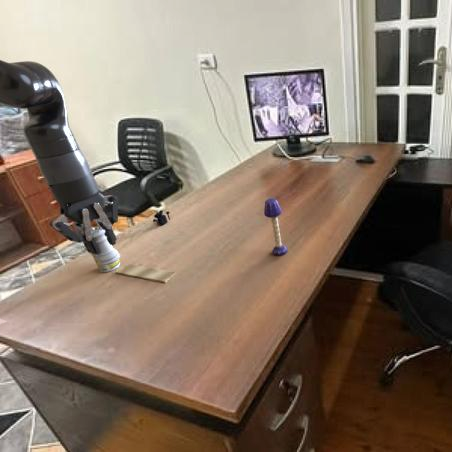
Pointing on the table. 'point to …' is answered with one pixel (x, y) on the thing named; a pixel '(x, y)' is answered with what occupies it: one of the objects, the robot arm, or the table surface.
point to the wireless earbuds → (161, 218)
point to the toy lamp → (275, 224)
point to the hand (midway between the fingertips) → (104, 248)
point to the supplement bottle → (106, 267)
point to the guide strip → (146, 273)
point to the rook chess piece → (104, 247)
